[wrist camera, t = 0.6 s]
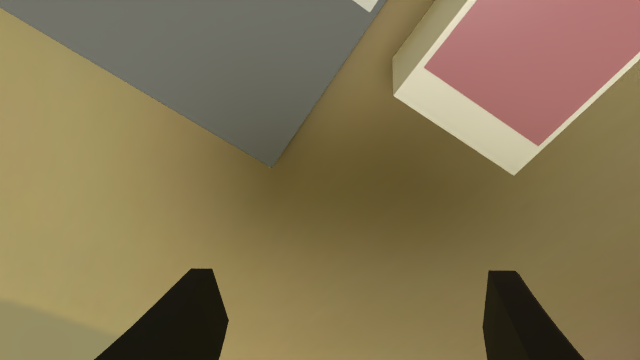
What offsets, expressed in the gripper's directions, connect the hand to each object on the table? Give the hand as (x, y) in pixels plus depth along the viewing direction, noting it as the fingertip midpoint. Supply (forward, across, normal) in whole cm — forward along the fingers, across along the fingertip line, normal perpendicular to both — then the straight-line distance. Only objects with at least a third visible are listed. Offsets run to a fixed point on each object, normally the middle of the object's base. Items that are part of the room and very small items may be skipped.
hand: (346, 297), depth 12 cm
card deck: (+9, -6, -5) cm, 12 cm away
